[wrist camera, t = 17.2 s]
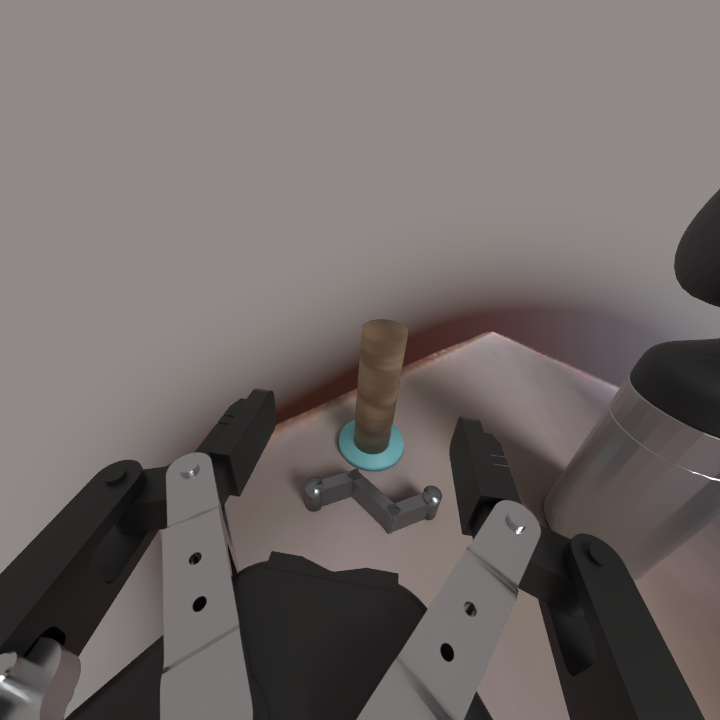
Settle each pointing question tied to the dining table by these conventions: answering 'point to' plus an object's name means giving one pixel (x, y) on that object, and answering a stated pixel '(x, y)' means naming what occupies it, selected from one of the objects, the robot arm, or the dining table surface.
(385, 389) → the walnut peg
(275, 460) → the dining table surface
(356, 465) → the teal pad
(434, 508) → the zigzag rail
